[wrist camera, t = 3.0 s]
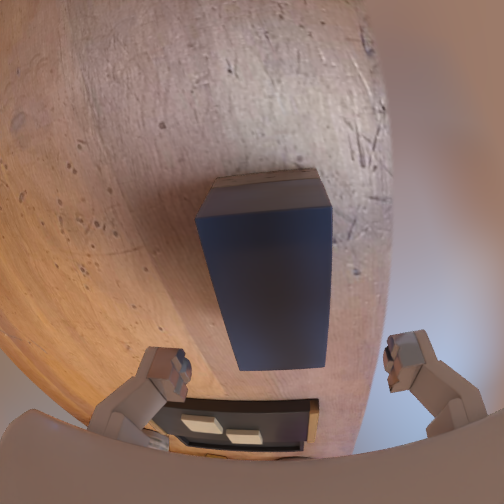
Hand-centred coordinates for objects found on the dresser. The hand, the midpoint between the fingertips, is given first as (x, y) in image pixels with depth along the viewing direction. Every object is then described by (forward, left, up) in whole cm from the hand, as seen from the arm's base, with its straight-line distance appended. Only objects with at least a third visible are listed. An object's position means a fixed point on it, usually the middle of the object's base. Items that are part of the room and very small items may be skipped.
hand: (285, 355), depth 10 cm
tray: (+33, -9, -7) cm, 35 cm away
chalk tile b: (+26, -6, -6) cm, 28 cm away
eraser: (0, -1, -7) cm, 7 cm away
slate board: (+24, -9, -7) cm, 27 cm away
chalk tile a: (+22, -11, -6) cm, 25 cm away
